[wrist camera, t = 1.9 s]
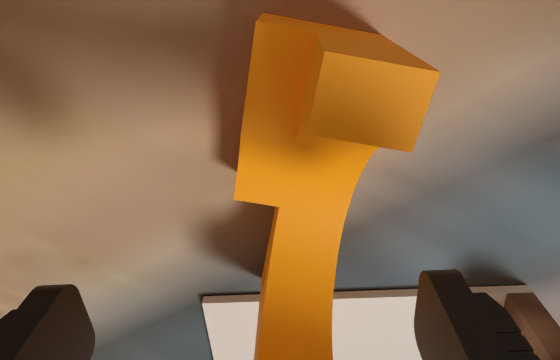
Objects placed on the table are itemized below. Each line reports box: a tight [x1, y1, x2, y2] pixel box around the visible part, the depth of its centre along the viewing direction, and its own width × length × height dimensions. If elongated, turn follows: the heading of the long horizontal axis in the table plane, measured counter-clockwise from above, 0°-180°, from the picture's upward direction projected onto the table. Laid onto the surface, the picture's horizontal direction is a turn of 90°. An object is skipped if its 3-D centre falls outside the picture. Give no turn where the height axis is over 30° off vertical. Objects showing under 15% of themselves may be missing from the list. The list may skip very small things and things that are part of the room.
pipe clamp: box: [234, 13, 440, 360], centre depth 14 cm, size 12×4×6 cm, turn 170°
